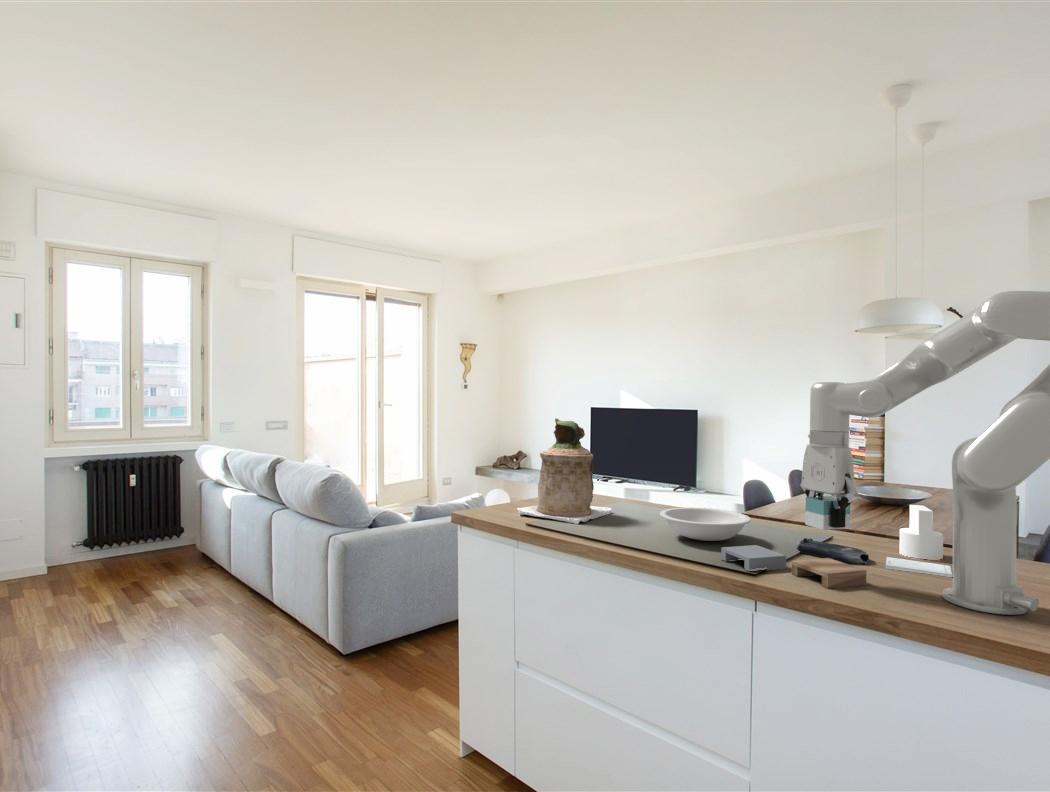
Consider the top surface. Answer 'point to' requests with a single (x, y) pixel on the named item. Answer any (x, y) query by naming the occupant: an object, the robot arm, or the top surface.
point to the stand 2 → (830, 572)
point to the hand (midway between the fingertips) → (827, 523)
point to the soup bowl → (705, 522)
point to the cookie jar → (566, 479)
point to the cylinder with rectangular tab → (921, 535)
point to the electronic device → (832, 551)
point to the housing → (822, 512)
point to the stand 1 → (755, 557)
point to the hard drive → (918, 567)
